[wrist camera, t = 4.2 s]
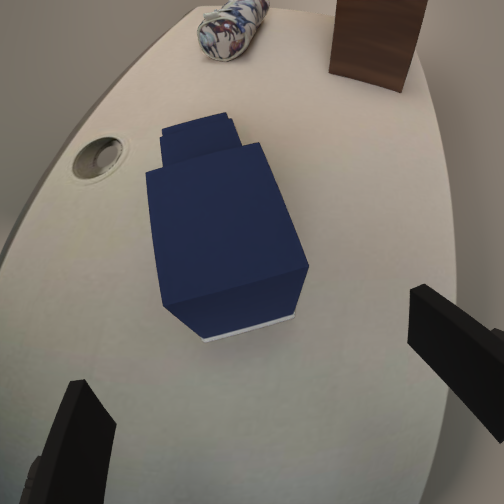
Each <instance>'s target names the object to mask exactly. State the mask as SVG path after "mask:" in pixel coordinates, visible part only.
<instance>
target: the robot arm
mask: <svg viewBox="0 0 504 504" xmlns="http://www.w3.org/2000/svg"><path fill="white" fill-rule="evenodd" d="M407 343H408V344H409V345H410V346H411V347H412V348H413V349H414V351H415V352H416V353H417V354H418V355H419V356H420V357H421V358H422V359H423V360H424V361H425V362H426V363H427V364H428V365H429V366H430V367H431V368H432V369H433V370H434V371H435V372H436V373H437V375H438V376H439V377H440V378H441V379H442V380H443V381H444V382H445V383H446V384H447V385H448V386H449V387H450V388H451V389H452V391H454V393H455V394H456V395H457V396H458V397H459V398H460V399H461V400H462V401H463V403H465V405H466V406H467V407H468V408H469V409H470V410H471V411H472V412H473V414H474V415H475V416H476V417H477V418H478V419H479V420H480V421H481V423H482V424H483V425H484V426H485V427H486V428H487V429H488V430H489V432H490V433H491V434H492V435H493V436H494V437H495V439H496V440H497V441H498V442H499V443H502V442H503V441H504V331H501V330H499V329H496V328H494V329H493V330H491V331H490V330H488V329H487V328H486V327H484V326H483V325H482V324H480V323H479V322H478V321H476V320H475V319H474V318H472V317H471V316H469V315H468V314H467V313H466V312H464V311H463V310H461V309H460V308H459V307H457V306H456V305H454V304H453V303H452V302H450V301H449V300H447V299H446V298H445V297H443V296H442V295H440V294H439V293H437V292H436V291H435V290H433V289H432V288H430V287H429V286H427V285H426V284H422V285H420V286H417V287H415V288H412V289H410V308H409V327H408V341H407ZM116 425H117V424H116V423H115V421H114V420H113V419H112V417H111V416H110V415H109V413H108V412H107V411H106V409H105V408H104V407H103V405H102V404H101V402H100V401H99V400H98V398H97V397H96V395H95V394H94V392H93V391H92V389H91V388H90V386H89V385H88V383H87V382H86V380H85V379H83V380H76V381H70V383H69V385H68V387H67V390H66V392H65V395H64V397H63V399H62V402H61V404H60V407H59V409H58V412H57V414H56V417H55V419H54V422H53V425H52V427H51V430H50V433H49V435H48V438H47V441H46V444H45V447H44V450H43V452H42V455H41V456H38V457H37V458H36V459H35V461H34V462H33V463H32V465H31V467H30V470H29V473H28V476H27V478H28V479H26V482H25V488H24V489H23V492H22V496H21V499H20V503H19V504H103V503H104V495H105V488H106V481H107V475H108V468H109V462H110V456H111V451H112V445H113V440H114V435H115V430H116Z"/></svg>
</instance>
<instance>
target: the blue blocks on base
mask: <svg viewBox="0 0 504 504" xmlns="http://www.w3.org/2000/svg"><path fill="white" fill-rule="evenodd" d="M162 135H163V136H162V137H160V146H161V154H162V162H163V167H162V168H158V169H155V170H152V171H149V172H146V184H147V195H148V205H149V214H150V223H151V231H152V239H153V246H154V253H155V260H156V267H157V273H158V280H159V286H160V292H161V297H162V303H163V306H164V307H165V308H166V309H167V310H168V311H170V312H171V313H172V314H173V315H174V316H176V317H177V318H178V319H179V320H180V321H182V322H183V323H184V324H185V325H186V326H188V327H189V328H190V329H191V330H193V331H194V332H195V333H196V334H198V335H199V336H200V337H201V340H202V341H204V342H209V341H213V340H217V339H221V338H225V337H228V336H232V335H236V334H240V333H243V332H247V331H251V330H254V329H258V328H261V327H265V326H268V325H272V324H275V323H279V322H282V321H285V320H289V319H292V318H294V316H295V308H296V305H297V302H298V299H299V296H300V293H301V290H302V287H303V283H304V280H305V277H306V274H307V271H308V268H309V264H308V262H307V259H306V256H305V254H304V251H303V248H302V246H301V243H300V241H299V238H298V236H297V233H296V230H295V228H294V225H293V223H292V220H291V218H290V215H289V213H288V210H287V208H286V205H285V203H284V200H283V198H282V195H281V193H280V190H279V188H278V185H277V183H276V181H275V178H274V176H273V173H272V171H271V169H270V166H269V164H268V162H267V159H266V157H265V154H264V152H263V150H262V147H261V145H260V143H259V142H258V143H253V144H249V145H244V146H242V144H241V141H240V139H239V136H238V133H237V131H236V128H235V126H234V123H233V120H232V118H230V119H228V116H227V113H226V112H225V113H220V114H216V115H212V116H208V117H204V118H200V119H196V120H192V121H189V122H185V123H181V124H178V125H174V126H171V127H167V128H164V129H162Z"/></svg>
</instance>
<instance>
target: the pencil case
mask: <svg viewBox="0 0 504 504" xmlns="http://www.w3.org/2000/svg"><path fill="white" fill-rule="evenodd" d="M269 6H270V2H269V0H229V1H228V2H227V3H226V4H225V5H224V6H223V7H222V9H221V10H218V11H217V9H216V10H214V12H211V13H206V14H203V16H204V18H205V19H204V20H203V22H202V23H201V24H200V26H199V27H198V30H197V36H198V40H199V44H200V46H201V48H202V50H203V51H204V53H205V54H206V55H207V56H209V57H210V58H212V59H215V60H218V61H224V62H225V61H229V60H232V59H234V58H236V57H238V56H239V55H240V54H242V53H243V52H244V51H245V50H246V48H247V47H248V45H249V43H250V41H251V39H252V37H253V35H254V33H255V31H256V30H257V28H258V27H259V25H260V23H261V22H262V20H263V19H264V17H265V15H266V14H267V12H268V9H269Z"/></svg>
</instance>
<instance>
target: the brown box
mask: <svg viewBox="0 0 504 504" xmlns="http://www.w3.org/2000/svg"><path fill="white" fill-rule="evenodd" d="M427 2H428V0H337V5H336V15H335V24H334V33H333V42H332V50H331V58H330V66H329V73H331V74H335V75H339V76H343V77H347V78H351V79H355V80H359V81H363V82H366V83H370V84H373V85H377V86H380V87H384V88H387V89H390V90H393V91H396V92H399V93H401V92H402V89H403V86H404V83H405V80H406V76H407V73H408V70H409V67H410V64H411V60H412V57H413V54H414V50H415V47H416V43H417V40H418V36H419V33H420V29H421V25H422V22H423V18H424V13H425V10H426V6H427Z"/></svg>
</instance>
